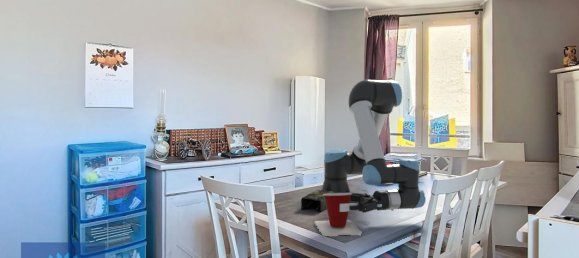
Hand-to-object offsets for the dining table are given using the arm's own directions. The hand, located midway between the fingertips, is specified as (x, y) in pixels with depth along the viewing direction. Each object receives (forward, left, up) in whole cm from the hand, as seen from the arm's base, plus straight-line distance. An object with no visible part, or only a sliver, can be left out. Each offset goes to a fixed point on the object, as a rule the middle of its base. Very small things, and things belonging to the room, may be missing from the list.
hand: (333, 202), depth 130 cm
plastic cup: (+3, +1, -8) cm, 8 cm away
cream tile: (+3, +1, -9) cm, 9 cm away
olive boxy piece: (-29, +1, -10) cm, 30 cm away
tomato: (-75, +53, -9) cm, 92 cm away
